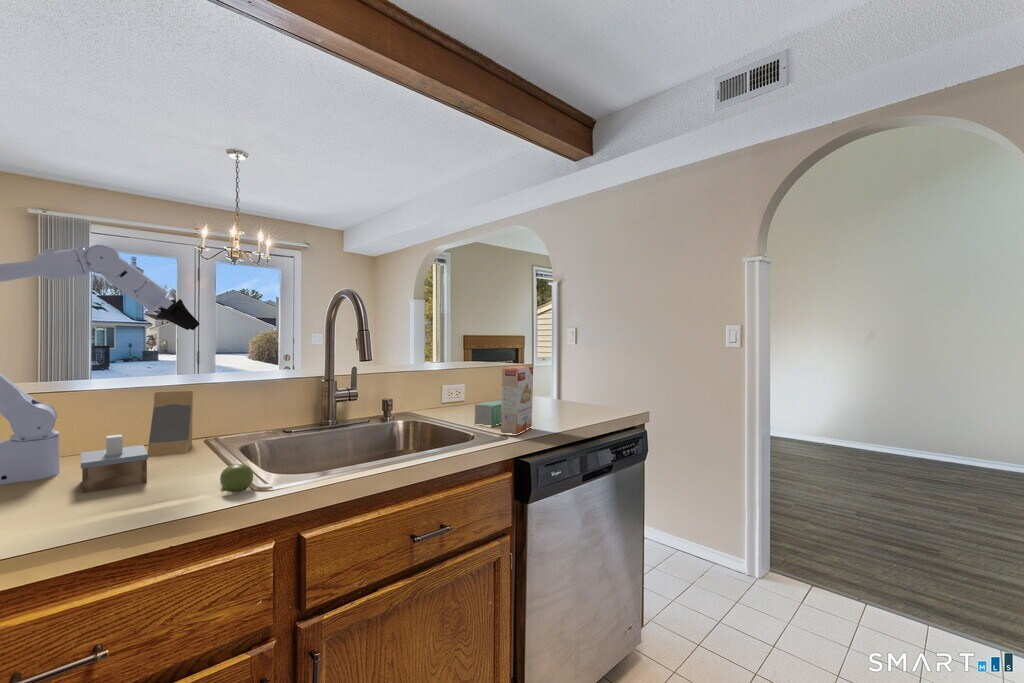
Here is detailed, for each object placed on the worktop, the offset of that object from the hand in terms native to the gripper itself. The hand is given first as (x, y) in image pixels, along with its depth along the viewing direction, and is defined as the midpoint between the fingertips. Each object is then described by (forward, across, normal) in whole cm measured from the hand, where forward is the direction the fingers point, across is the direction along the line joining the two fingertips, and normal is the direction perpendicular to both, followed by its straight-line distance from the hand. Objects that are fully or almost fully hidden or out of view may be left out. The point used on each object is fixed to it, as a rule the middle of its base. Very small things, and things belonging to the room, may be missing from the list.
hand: (193, 327), depth 116 cm
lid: (+6, -15, +30) cm, 34 cm away
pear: (+23, -32, +23) cm, 46 cm away
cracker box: (+84, -30, -29) cm, 93 cm away
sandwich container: (+18, +9, +27) cm, 34 cm away
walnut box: (+9, -15, +35) cm, 39 cm away
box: (+86, -15, -31) cm, 93 cm away
